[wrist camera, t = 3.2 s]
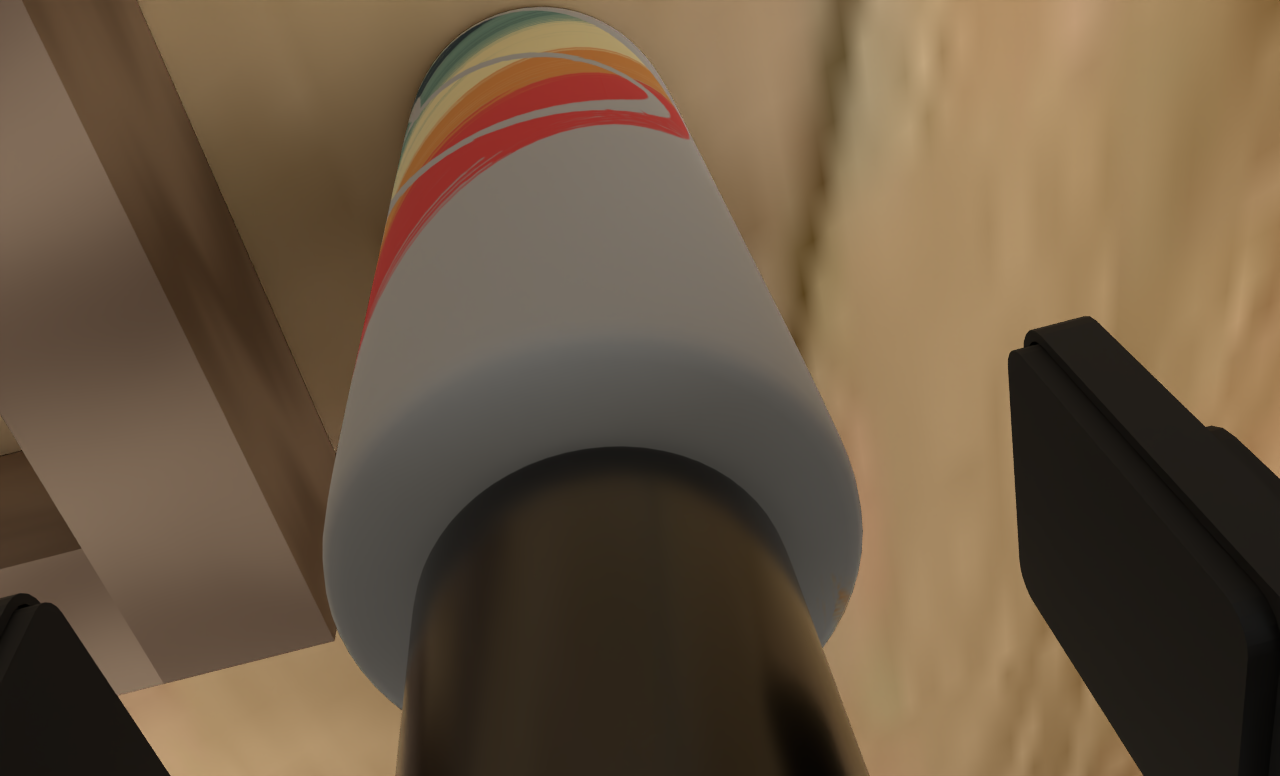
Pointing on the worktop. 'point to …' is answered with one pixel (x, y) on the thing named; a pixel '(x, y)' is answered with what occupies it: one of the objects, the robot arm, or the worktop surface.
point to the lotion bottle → (583, 442)
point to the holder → (142, 371)
